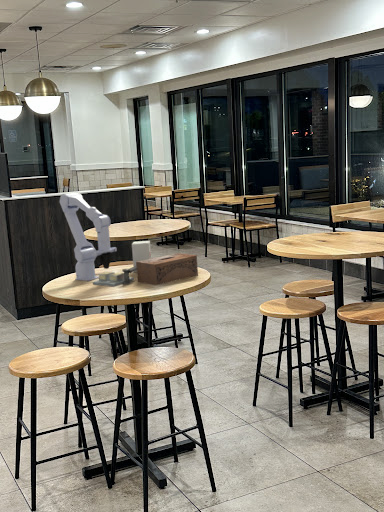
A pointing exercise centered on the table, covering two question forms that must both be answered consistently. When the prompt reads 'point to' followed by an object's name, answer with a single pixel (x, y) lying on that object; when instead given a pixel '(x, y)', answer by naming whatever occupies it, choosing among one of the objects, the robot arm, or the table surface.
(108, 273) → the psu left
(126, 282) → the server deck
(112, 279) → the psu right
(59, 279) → the table surface
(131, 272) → the swing bar
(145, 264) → the tissue box cover
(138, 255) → the supplement box
